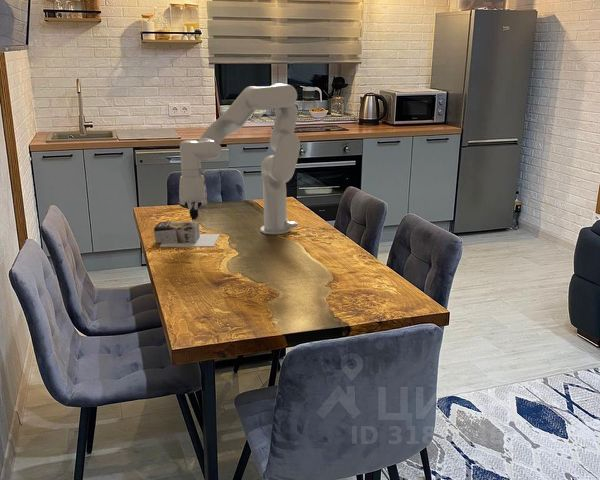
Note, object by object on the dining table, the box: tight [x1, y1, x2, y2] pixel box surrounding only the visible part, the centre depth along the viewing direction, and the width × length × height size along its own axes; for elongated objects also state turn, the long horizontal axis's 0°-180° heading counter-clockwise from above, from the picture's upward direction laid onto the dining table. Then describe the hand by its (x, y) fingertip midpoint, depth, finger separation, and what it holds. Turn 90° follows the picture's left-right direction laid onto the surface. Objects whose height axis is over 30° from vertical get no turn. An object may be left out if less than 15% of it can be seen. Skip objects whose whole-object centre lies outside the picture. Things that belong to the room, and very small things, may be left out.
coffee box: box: [153, 221, 201, 244], centre depth 236 cm, size 9×6×16 cm
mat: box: [159, 233, 221, 248], centre depth 237 cm, size 21×16×1 cm
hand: (194, 218), depth 234 cm, fingers closed
